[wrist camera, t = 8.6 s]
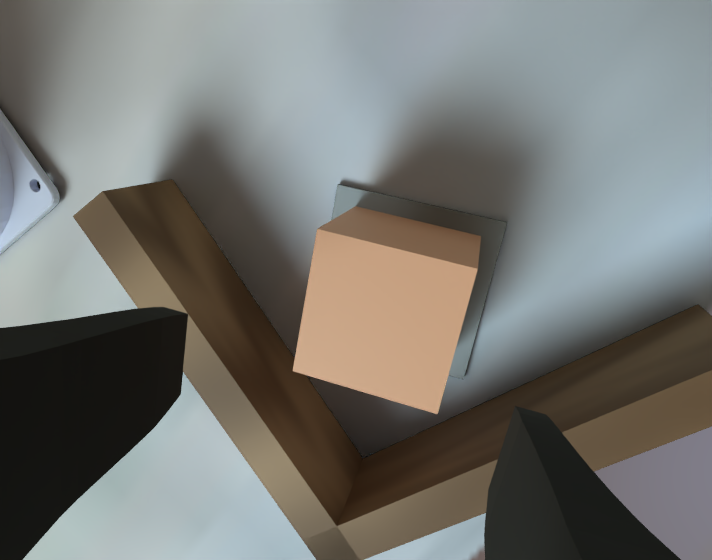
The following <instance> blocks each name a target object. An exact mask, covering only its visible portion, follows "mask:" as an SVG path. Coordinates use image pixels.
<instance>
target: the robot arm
mask: <svg viewBox="0 0 712 560" xmlns="http://www.w3.org/2000/svg"><path fill="white" fill-rule="evenodd" d="M37 181H38V182H39V183H40V185H41V189H39V188H38V186H37ZM59 199H60V197H59V192H58V190H57V188H56V187H55V186H54V184H53V183H52V181H51V180H50V178H49V177H48V176H47V174H46V173H45V171H44V170H43V169H42V167H41V166H40V164H39V163H38V162H37V160H36V159H35V157H34V156H33V154H32V153H31V152H30V150H29V149H28V147H27V146H26V145H25V143H24V142H23V140H22V139H21V138H20V136H19V135H18V133H17V132H16V131H15V129H14V128H13V126H12V125H11V123H10V122H9V121H8V119H7V118H6V116H5V115H4V114H3V112H2V111H1V109H0V254H1V253H2V252H4V251H5V250H6V249H7V248H8V247H9V246H10V245H12V244H13V243H14V242H15V241H16V240H17V239H19V238H20V237H21V236H22V235H23V234H24V233H25V232H27V231H28V230H29V229H30V228H31V227H32V226H34V225H35V224H36V223H37V222H38V221H39V220H40V219H42V218H43V217H44V216H45V215H46V214H47V213H49V212H50V211H51V210H52V209H53V208H54V207H55V206H57V204H58V203H59ZM187 322H188V314H187V313H184V312H180V311H177V310H173V309H169V308H166V307H148V308H139V309H131V310H125V311H118V312H112V313H106V314H100V315H93V316H87V317H81V318H75V319H68V320H61V321H54V322H46V323H39V324H32V325H24V326H16V327H6V328H0V560H23V558H24V557H25V556H26V555H27V554H28V553H29V551H30V550H31V549H32V548H33V547H34V546H35V545H36V544H37V542H38V541H39V540H40V539H41V538H42V537H43V536H44V534H45V533H46V532H47V531H48V530H49V529H50V528H51V527H52V525H53V524H54V523H55V522H56V521H57V520H58V519H59V517H60V516H61V515H62V514H63V513H64V512H65V511H66V510H67V509H68V508H69V507H70V506H71V505H72V504H73V503H74V502H75V501H76V500H77V499H78V498H79V497H80V496H82V495H83V494H84V493H85V492H86V491H87V490H88V489H89V488H90V487H91V486H92V485H93V484H95V483H96V482H97V481H98V480H99V479H100V478H101V477H102V476H103V475H104V474H105V473H106V472H108V471H109V470H110V469H111V468H112V467H113V466H114V465H115V464H116V463H117V462H118V461H119V460H120V459H122V458H123V457H124V456H125V455H126V454H127V453H128V452H129V451H130V450H131V449H132V448H133V447H134V446H135V445H137V444H138V443H139V442H140V441H141V440H142V439H143V438H144V437H145V436H146V435H147V434H148V433H149V432H150V431H151V430H152V429H153V428H154V427H155V426H156V425H157V424H158V422H159V421H160V420H161V419H162V418H163V416H164V415H165V414H166V413H167V411H168V410H169V409H170V408H171V406H172V405H173V404H174V402H175V401H176V400H177V398H178V397H179V396H180V394H181V385H182V375H183V364H184V354H185V343H186V332H187ZM484 539H485V560H681V559H680V558H678V557H677V556H676V555H675V554H674V553H673V552H672V551H671V550H670V549H669V548H667V547H666V546H665V545H664V544H663V543H662V542H661V541H660V540H659V539H657V538H656V537H655V536H654V535H653V534H652V533H651V532H650V531H649V530H648V529H647V528H646V527H645V526H644V525H643V524H642V523H641V522H639V520H637V518H635V516H634V515H632V513H631V512H630V511H629V510H628V509H627V508H626V507H625V506H624V505H623V504H622V503H621V502H620V501H619V500H618V498H616V496H615V495H614V494H613V493H612V492H611V491H610V490H609V489H608V488H607V487H606V485H605V484H604V483H603V482H602V481H601V480H600V479H599V478H598V476H597V475H596V474H595V473H594V472H593V470H592V469H591V468H590V467H589V466H588V464H587V463H586V462H585V461H584V460H583V458H582V457H581V456H580V455H579V453H578V452H577V451H576V450H575V448H574V447H573V446H572V445H571V443H570V442H569V441H568V440H567V438H566V437H565V436H564V435H563V433H562V432H561V431H560V430H559V428H558V427H557V426H556V425H555V424H554V422H553V421H552V420H551V419H550V418H549V417H548V416H547V415H546V414H543V413H539V412H536V411H532V410H528V409H525V408H521V407H518V406H515V408H514V411H513V414H512V417H511V420H510V423H509V426H508V430H507V433H506V436H505V439H504V442H503V445H502V448H501V451H500V455H499V458H498V461H497V464H496V467H495V470H494V473H493V476H492V479H491V483H490V486H489V489H488V498H487V508H486V520H485V533H484Z"/></svg>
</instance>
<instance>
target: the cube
mask: <svg viewBox="0 0 712 560" xmlns="http://www.w3.org/2000/svg"><path fill="white" fill-rule="evenodd" d="M480 242H481V236H478V235H474V234H470V233H466V232H462V231H457V230H453V229H449V228H445V227H441V226H436V225H432V224H428V223H424V222H420V221H415V220H411V219H407V218H403V217H399V216H395V215H390V214H386V213H382V212H378V211H374V210H369V209H365V208H361V207H357V206H355V207H353V208H352V209H350V210H348V211H347V212H345V213H343V214H341V215H340V216H338V217H336V218H335V219H333V220H331V221H330V222H328V223H326V224H325V225H323V226H321V227H320V228H318V229H317V233H316V239H315V245H314V250H313V256H312V262H311V268H310V273H309V279H308V285H307V291H306V297H305V302H304V308H303V314H302V320H301V325H300V331H299V337H298V343H297V348H296V354H295V360H294V366H293V371H294V372H297V373H301V374H304V375H307V376H311V377H314V378H318V379H321V380H324V381H328V382H331V383H334V384H338V385H341V386H344V387H348V388H351V389H354V390H358V391H361V392H364V393H368V394H371V395H374V396H378V397H381V398H385V399H388V400H391V401H395V402H398V403H401V404H405V405H408V406H411V407H415V408H418V409H421V410H425V411H428V412H431V413H435V414H438V411H439V407H440V404H441V400H442V396H443V393H444V389H445V386H446V382H447V378H448V375H449V371H450V367H451V364H452V360H453V357H454V353H455V349H456V346H457V342H458V339H459V335H460V331H461V328H462V324H463V321H464V317H465V313H466V310H467V306H468V303H469V299H470V295H471V292H472V288H473V285H474V281H475V277H476V274H477V270H478V262H479V252H480Z"/></svg>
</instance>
